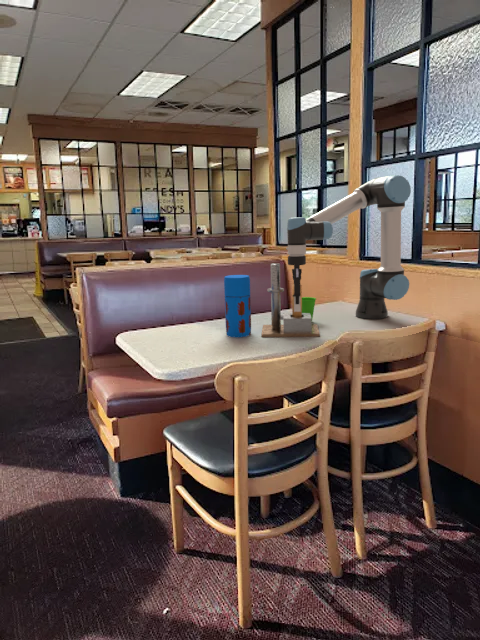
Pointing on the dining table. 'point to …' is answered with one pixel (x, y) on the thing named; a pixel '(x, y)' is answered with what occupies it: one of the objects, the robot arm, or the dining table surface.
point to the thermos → (237, 305)
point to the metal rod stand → (286, 315)
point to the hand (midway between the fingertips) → (297, 310)
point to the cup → (308, 305)
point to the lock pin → (294, 314)
